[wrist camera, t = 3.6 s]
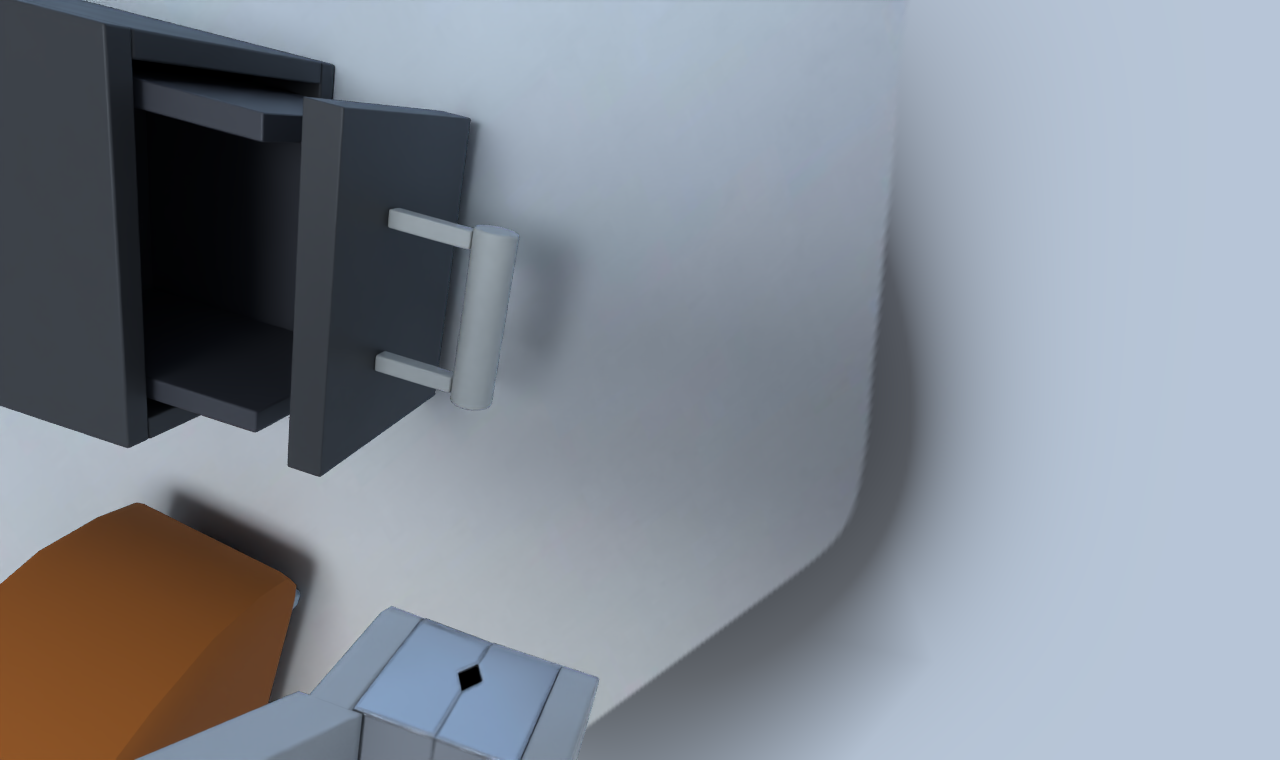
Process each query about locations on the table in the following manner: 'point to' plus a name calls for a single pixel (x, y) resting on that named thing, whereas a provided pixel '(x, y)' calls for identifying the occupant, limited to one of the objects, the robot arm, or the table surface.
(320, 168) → the drawer
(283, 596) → the alarm clock
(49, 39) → the dark grey box
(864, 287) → the table surface
